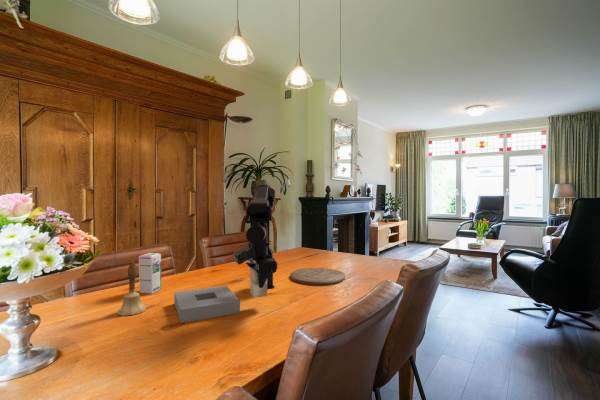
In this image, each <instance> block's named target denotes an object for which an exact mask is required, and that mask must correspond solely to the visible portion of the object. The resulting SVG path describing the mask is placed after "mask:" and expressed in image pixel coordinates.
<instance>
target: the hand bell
mask: <svg viewBox="0 0 600 400" xmlns="http://www.w3.org/2000/svg"><path fill="white" fill-rule="evenodd" d="M137 271H138V270H137V266H136V264H135V261H130V262H129V266H128V268H127V278H128V281H129V283H128V285H129V286H128V293H126V294H125V295H124V296H123V300H122V305H121V306H120V308H119V309H118V310H117V312H116V314H117V316H118V315H119V316H124V317H125V316H133V315H139V314H141V313H143V312H145V311H147V307H146V306H145V305H144V304H143V303H142V301H141V296H140V292H136V285H135V284H136V283H135V281H136V278H137V273H138V272H137Z"/></svg>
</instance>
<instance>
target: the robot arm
mask: <svg viewBox="0 0 600 400" xmlns="http://www.w3.org/2000/svg"><path fill="white" fill-rule="evenodd" d="M253 195H254V196H253V199H251V200H250V201H249V203H248V205H247V206H246V216H245V224H249V225H250V227H248V229H247V231H246V233H245V236H246V237H245V238H246V240H247V241H248V243H247V246H246V247H244V248H241V249H239V250H236V251H234V252H233V253H232V256H233V259H234V261H235V263H236V264H238V265H242V264H244V263H245V265H246V266H248V267H249V268H251V267H256V268H253V269H254V270H255V271H256V272H257V275H258V282H259V287H260V288H263V286H264V284H265V282H266V280H267V289H271V288H272V289H273V288H275V285H274V274H275V273H277V270H278V262H277V261H276V259H275V257H274V253H273V252H272V250H271V248H270V239H271V238H270V237H271V235H270V234H271V230H270V229H271V228H270V227H271V225H270V224H271V222H272V219H273V208H274V206H275V202H276V190H275V189H274V188H272V187H271V185H270V184H257V185H256V188H255V189H254V194H253Z"/></svg>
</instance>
